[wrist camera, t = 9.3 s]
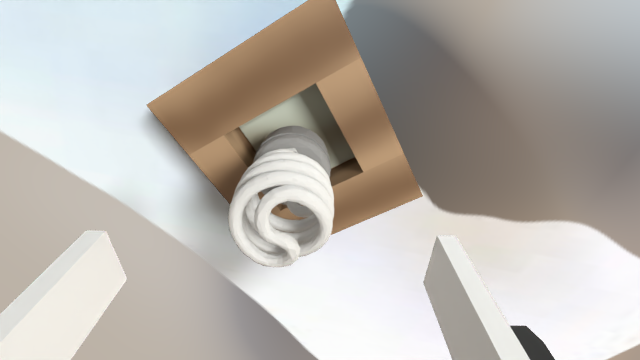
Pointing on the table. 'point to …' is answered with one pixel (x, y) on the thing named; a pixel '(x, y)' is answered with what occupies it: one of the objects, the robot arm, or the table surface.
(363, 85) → the socket board
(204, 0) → the table surface
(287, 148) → the light bulb
